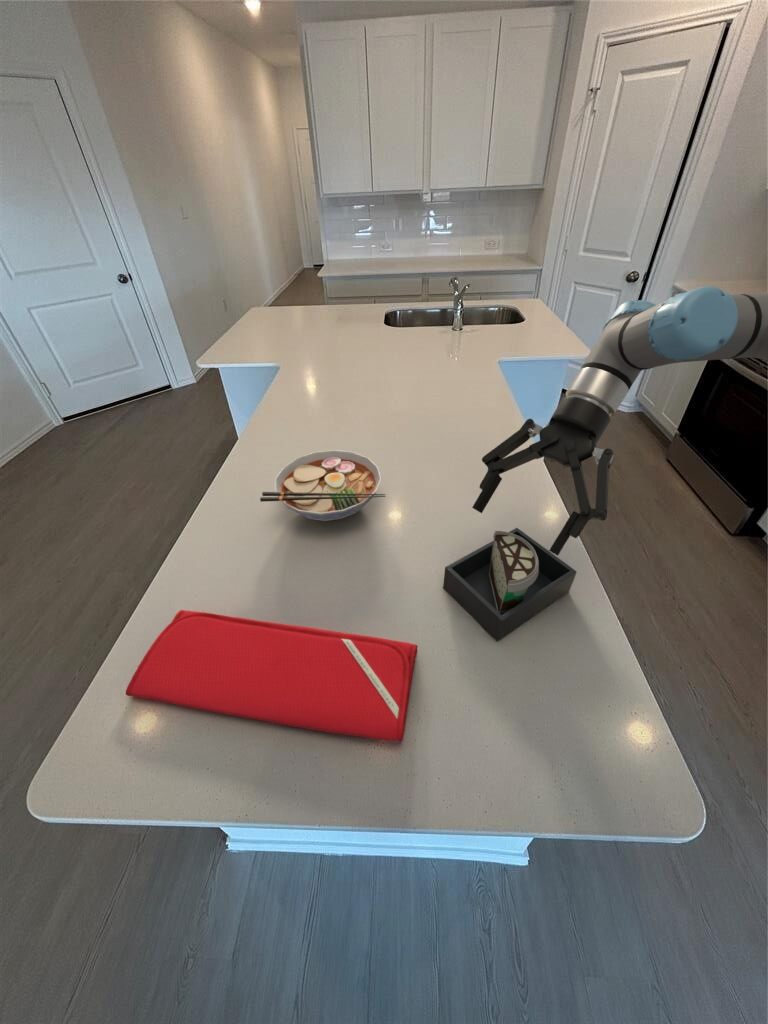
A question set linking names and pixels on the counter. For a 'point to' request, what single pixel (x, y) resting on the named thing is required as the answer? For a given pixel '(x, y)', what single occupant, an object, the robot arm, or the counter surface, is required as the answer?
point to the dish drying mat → (280, 674)
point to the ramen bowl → (326, 484)
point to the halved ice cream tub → (511, 569)
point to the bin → (476, 595)
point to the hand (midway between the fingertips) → (512, 530)
